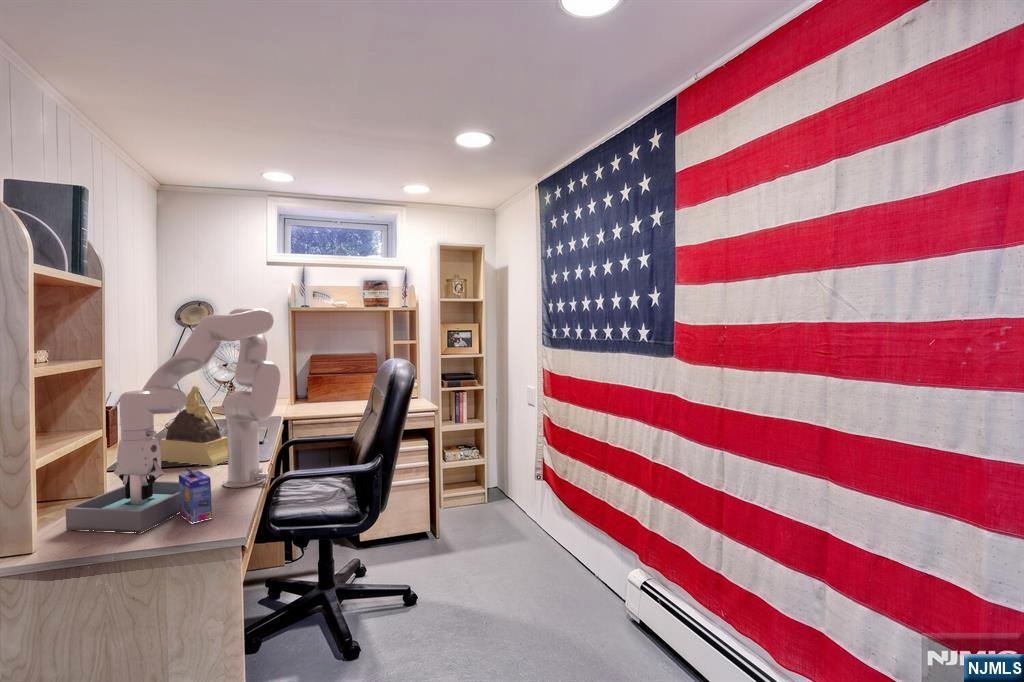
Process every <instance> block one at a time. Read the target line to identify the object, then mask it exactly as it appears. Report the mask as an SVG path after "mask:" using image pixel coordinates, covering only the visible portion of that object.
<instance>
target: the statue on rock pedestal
mask: <svg viewBox="0 0 1024 682" xmlns="http://www.w3.org/2000/svg"><path fill="white" fill-rule="evenodd" d="M200 389H201V387H200V386H199V385H193V386H192V387H191V390H190V391H189V392H188V394H187V395H186V396H187V403H186V405H185V408H183V409H182V410H180V411H179V412H178V413H177V414H176V416H175V418H174V419H173V421H172V422H171V423H170V424H169V426H168V429H167V432H166V436H165V437H164V438H162V439H160V441H159V448H160V455H161V462H162V461H172V462H185V463H197V464H205V465H211V466H214V465H217V464H219V463H222V462H224V461H227V460H228V436H222V434H221V432H220V430H219V429H217V427H215V425H214V421H213V417H212V415H210V414H209V412H207V405H205V404H201V400H200V398H201V397H200V394H199V392H200ZM172 462H171V463H172ZM222 464H223V463H222ZM211 466H210V467H211ZM217 466H218V465H217ZM214 467H215V466H214Z"/></svg>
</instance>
